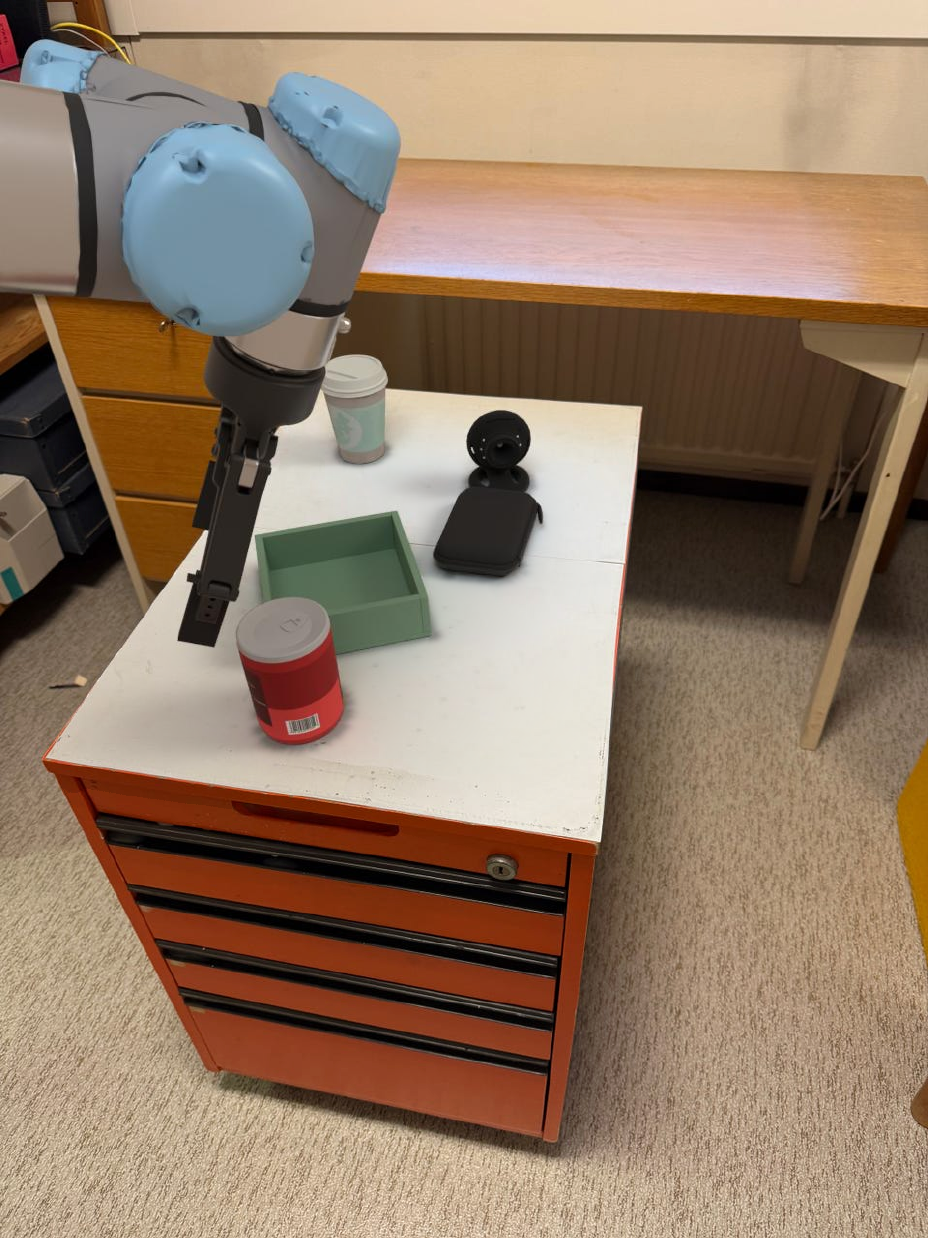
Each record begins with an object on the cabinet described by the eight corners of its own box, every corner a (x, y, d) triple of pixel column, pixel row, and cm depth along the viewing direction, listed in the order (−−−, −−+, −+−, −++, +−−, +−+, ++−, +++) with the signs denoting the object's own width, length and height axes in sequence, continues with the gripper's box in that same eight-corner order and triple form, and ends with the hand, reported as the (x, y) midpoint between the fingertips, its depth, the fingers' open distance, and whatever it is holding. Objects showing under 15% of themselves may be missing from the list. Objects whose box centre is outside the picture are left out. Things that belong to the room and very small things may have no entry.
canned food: (362, 703, 82) (347, 613, 75) (306, 760, 77) (285, 670, 70) (299, 673, 85) (279, 585, 78) (241, 727, 80) (215, 637, 73)
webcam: (472, 505, 106) (470, 430, 99) (463, 472, 112) (460, 400, 105) (536, 497, 107) (537, 423, 100) (523, 466, 112) (524, 393, 106)
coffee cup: (321, 446, 118) (308, 361, 110) (381, 430, 120) (372, 346, 113) (342, 476, 112) (329, 388, 104) (404, 459, 115) (396, 373, 107)
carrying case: (525, 586, 94) (549, 509, 105) (526, 563, 92) (549, 488, 103) (429, 574, 96) (462, 500, 107) (427, 551, 94) (461, 478, 105)
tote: (275, 666, 86) (266, 627, 83) (263, 572, 97) (254, 534, 94) (431, 635, 89) (428, 596, 85) (401, 547, 100) (397, 509, 97)
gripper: (335, 469, 50) (243, 706, 63) (323, 284, 68) (254, 499, 81) (200, 432, 47) (133, 689, 60) (225, 250, 65) (169, 478, 78)
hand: (202, 580), depth 70 cm, fingers open, 13 cm apart
